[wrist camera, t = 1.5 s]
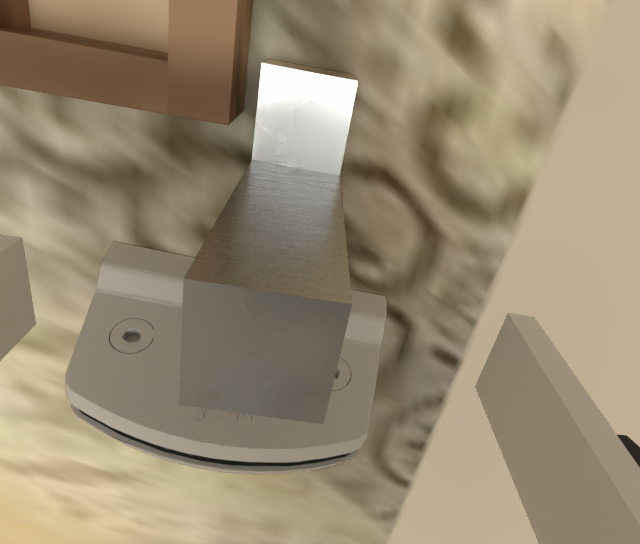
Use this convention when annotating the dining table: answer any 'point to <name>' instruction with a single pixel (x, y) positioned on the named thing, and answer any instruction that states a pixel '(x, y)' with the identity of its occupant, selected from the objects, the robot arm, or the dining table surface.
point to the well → (131, 53)
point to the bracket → (276, 260)
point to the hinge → (164, 378)
